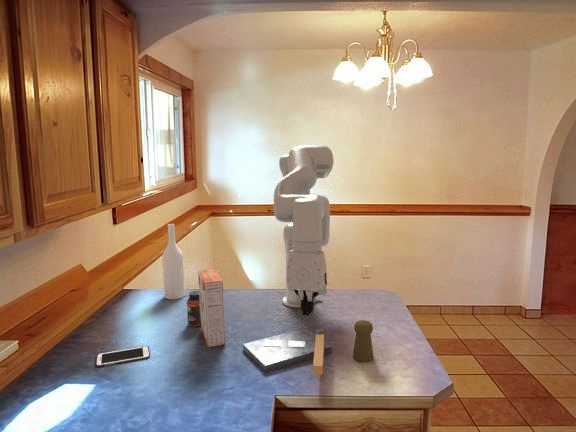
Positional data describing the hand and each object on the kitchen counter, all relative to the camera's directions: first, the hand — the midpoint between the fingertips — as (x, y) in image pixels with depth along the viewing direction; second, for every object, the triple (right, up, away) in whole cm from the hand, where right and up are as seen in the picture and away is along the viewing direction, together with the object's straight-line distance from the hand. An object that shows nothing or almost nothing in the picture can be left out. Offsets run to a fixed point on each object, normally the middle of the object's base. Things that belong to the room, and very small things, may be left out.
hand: (307, 313), depth 115 cm
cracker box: (-29, -13, +24) cm, 40 cm away
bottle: (-52, -7, +63) cm, 82 cm away
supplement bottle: (-37, -12, +35) cm, 52 cm away
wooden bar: (+3, -12, +4) cm, 14 cm away
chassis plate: (-5, -15, +14) cm, 21 cm away
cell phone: (-53, -16, +12) cm, 57 cm away
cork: (+17, -15, +10) cm, 25 cm away
